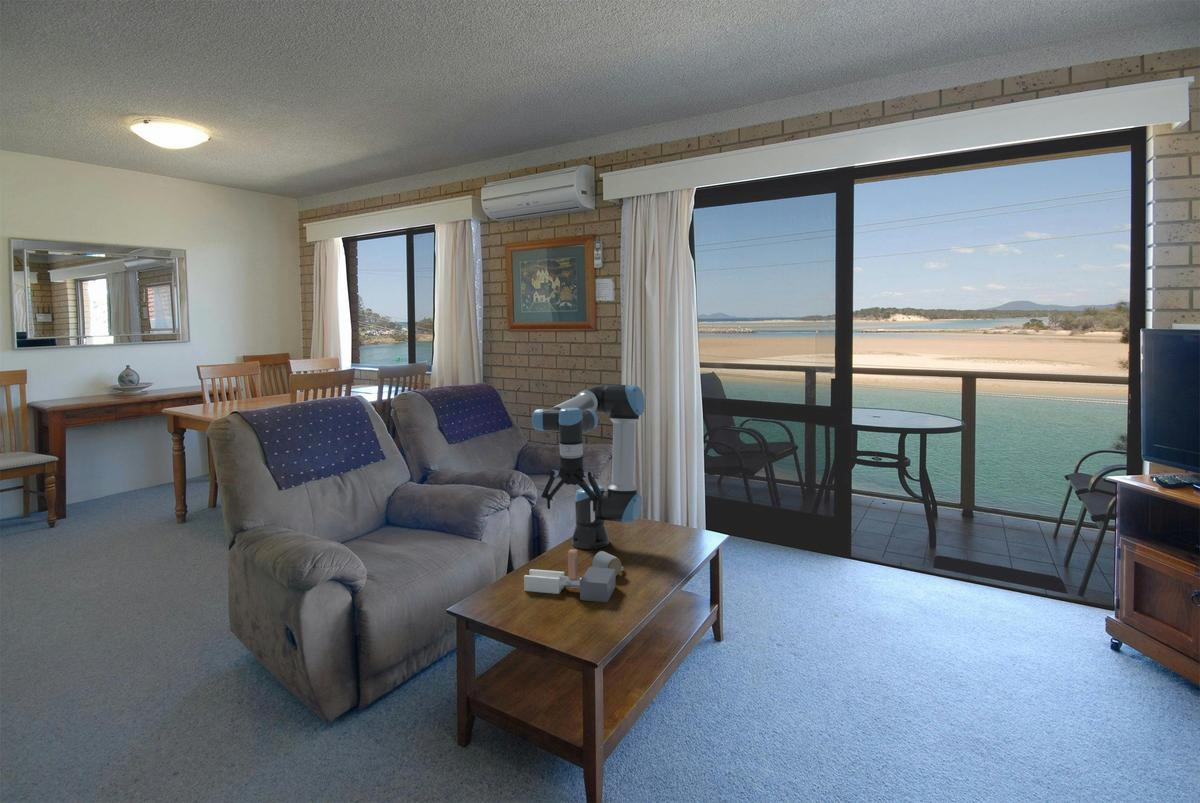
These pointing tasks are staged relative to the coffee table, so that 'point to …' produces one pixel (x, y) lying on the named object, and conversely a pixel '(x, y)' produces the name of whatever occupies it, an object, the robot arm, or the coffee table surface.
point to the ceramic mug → (607, 562)
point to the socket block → (597, 584)
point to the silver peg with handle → (571, 571)
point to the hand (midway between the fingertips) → (572, 519)
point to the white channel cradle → (543, 581)
